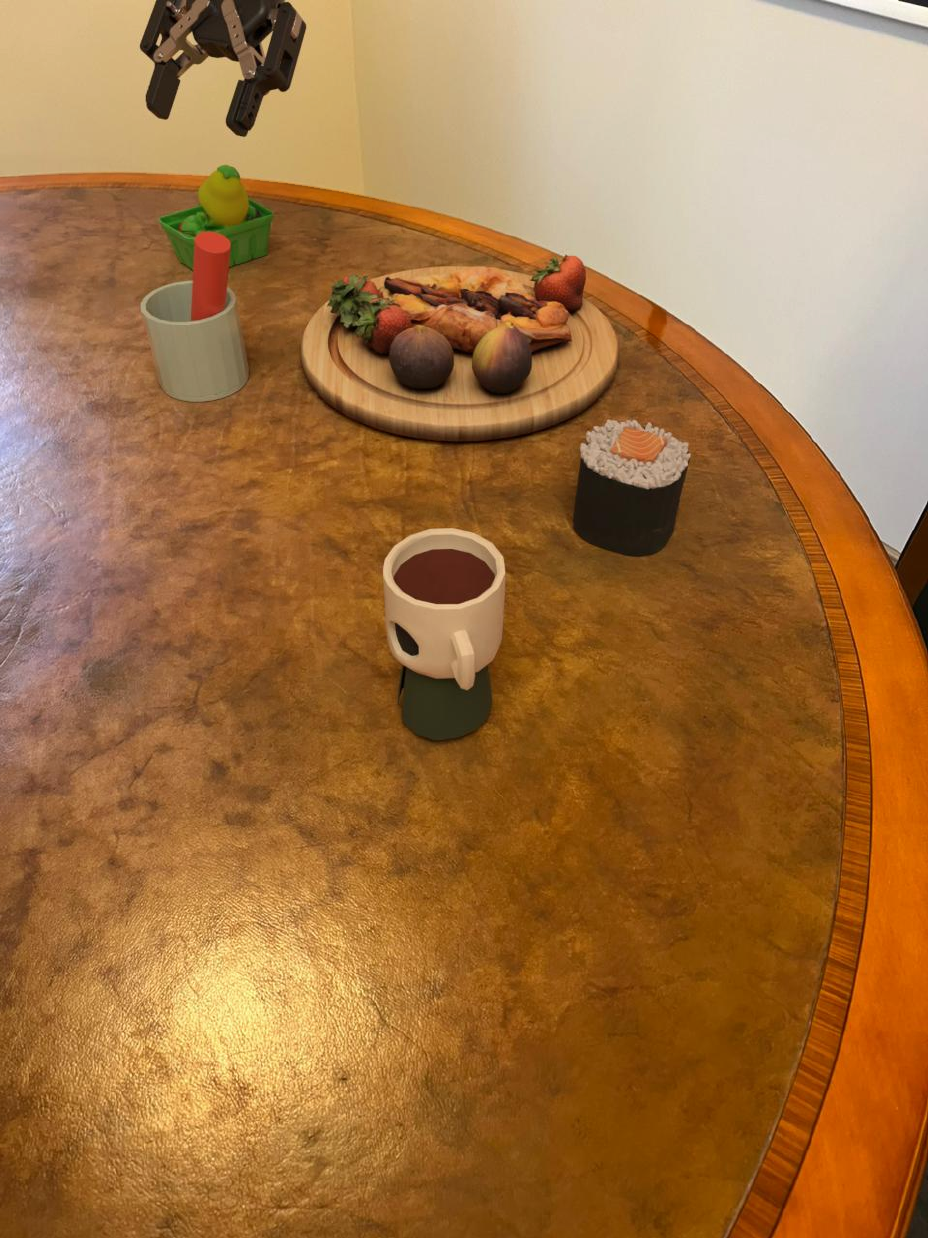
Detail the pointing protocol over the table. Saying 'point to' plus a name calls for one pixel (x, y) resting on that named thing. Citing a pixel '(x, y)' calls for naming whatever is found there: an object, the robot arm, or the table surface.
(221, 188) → the fruit basket
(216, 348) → the tumbler
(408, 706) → the character mug
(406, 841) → the table surface
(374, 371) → the wooden plate
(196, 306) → the red cylindrical rod
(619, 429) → the sushi
